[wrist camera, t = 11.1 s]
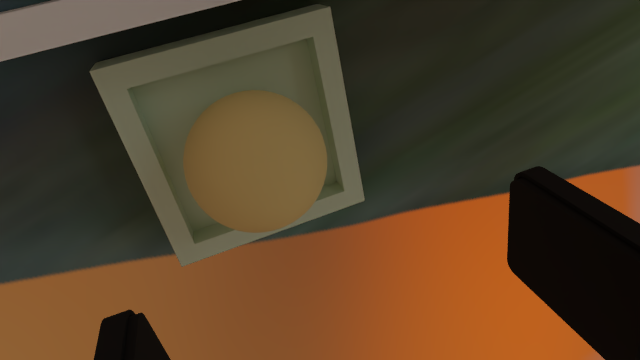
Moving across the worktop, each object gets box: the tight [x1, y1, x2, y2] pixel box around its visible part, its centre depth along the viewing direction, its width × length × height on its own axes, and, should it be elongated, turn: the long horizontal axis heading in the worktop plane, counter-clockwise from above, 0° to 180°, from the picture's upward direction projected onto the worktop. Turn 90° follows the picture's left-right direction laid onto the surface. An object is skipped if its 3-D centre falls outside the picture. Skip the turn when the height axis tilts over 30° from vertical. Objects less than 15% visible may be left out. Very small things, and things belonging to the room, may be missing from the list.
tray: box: [89, 4, 365, 266], centre depth 21 cm, size 10×10×2 cm
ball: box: [183, 90, 327, 233], centre depth 18 cm, size 6×6×6 cm
